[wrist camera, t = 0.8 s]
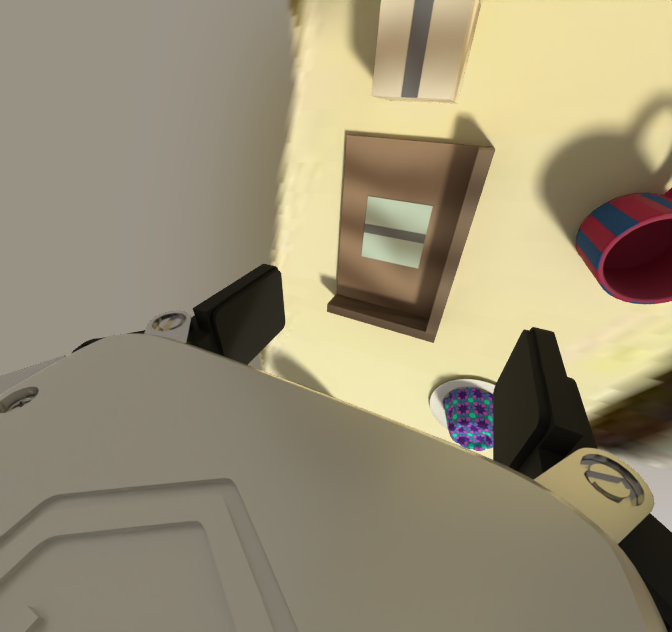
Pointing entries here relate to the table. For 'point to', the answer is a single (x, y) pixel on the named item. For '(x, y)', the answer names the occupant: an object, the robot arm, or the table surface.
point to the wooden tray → (404, 229)
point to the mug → (631, 247)
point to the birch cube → (423, 49)
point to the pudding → (465, 412)
